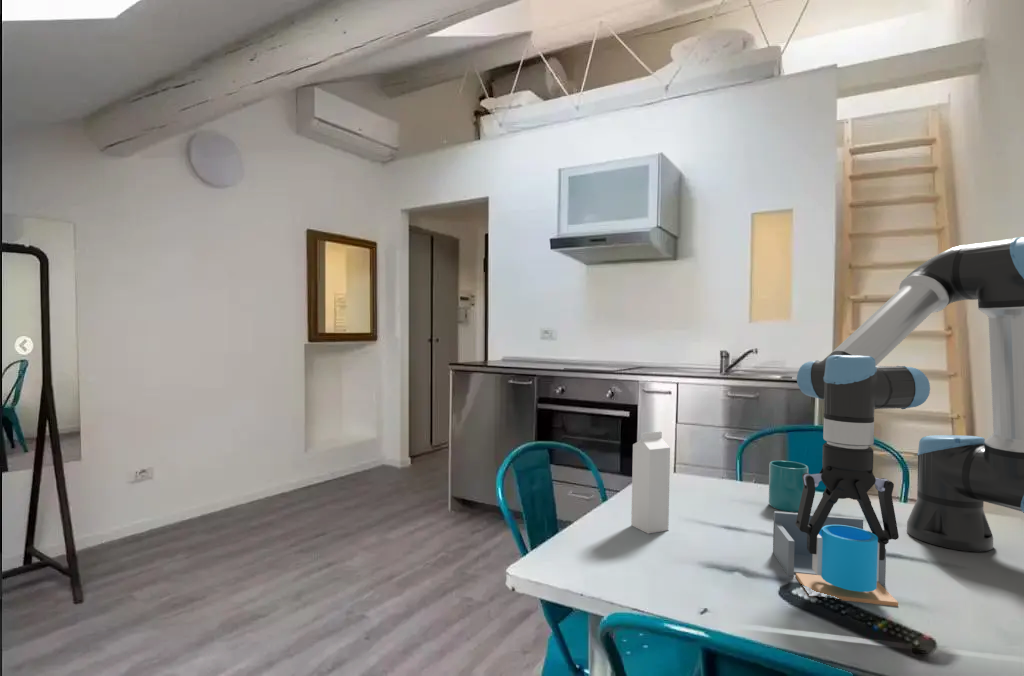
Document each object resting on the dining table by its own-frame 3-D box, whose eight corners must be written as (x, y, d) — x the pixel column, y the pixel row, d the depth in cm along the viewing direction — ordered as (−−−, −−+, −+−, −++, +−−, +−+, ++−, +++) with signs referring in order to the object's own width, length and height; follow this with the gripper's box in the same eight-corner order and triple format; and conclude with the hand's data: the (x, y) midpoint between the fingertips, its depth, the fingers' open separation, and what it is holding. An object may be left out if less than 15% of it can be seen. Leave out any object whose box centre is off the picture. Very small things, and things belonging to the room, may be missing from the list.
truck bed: (860, 563, 109) (861, 518, 109) (885, 588, 99) (886, 538, 99) (772, 555, 113) (773, 511, 113) (787, 578, 102) (788, 529, 102)
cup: (823, 509, 143) (824, 466, 143) (788, 514, 139) (789, 469, 139) (794, 499, 152) (795, 458, 151) (760, 503, 147) (761, 461, 147)
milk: (631, 525, 129) (632, 430, 129) (651, 522, 132) (652, 429, 131) (648, 534, 123) (649, 435, 123) (669, 530, 126) (670, 433, 126)
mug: (889, 589, 91) (890, 540, 91) (846, 593, 90) (847, 543, 90) (834, 560, 103) (835, 516, 103) (795, 562, 102) (796, 518, 102)
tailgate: (877, 581, 99) (898, 602, 91) (876, 587, 99) (898, 609, 91) (795, 572, 102) (809, 592, 94) (795, 579, 102) (809, 599, 94)
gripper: (905, 443, 98) (901, 572, 98) (777, 436, 102) (774, 559, 102) (927, 452, 90) (923, 591, 90) (788, 444, 95) (785, 577, 95)
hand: (844, 574), depth 96 cm, fingers closed on mug, 8 cm apart
